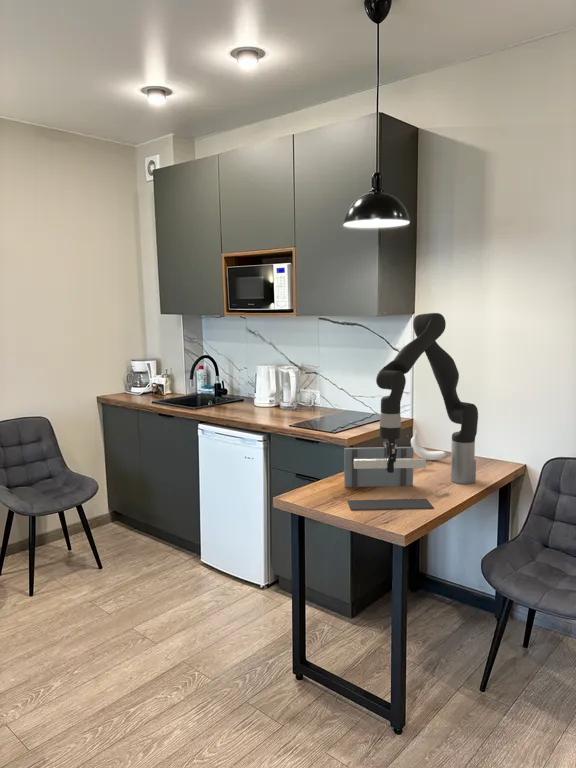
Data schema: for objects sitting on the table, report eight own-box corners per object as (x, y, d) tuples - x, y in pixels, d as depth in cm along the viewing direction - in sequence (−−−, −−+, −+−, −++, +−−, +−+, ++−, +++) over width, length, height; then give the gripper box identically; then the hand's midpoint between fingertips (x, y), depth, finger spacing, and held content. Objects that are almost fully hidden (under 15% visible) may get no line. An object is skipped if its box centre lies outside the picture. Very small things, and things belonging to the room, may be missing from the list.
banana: (444, 464, 267) (445, 433, 265) (408, 458, 279) (408, 428, 277) (449, 462, 270) (450, 431, 269) (413, 456, 283) (413, 426, 281)
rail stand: (412, 484, 236) (412, 446, 234) (419, 494, 223) (420, 454, 221) (344, 486, 235) (344, 448, 233) (348, 495, 223) (348, 455, 221)
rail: (424, 466, 211) (424, 458, 211) (425, 467, 209) (425, 459, 209) (353, 466, 211) (353, 459, 211) (354, 468, 209) (354, 460, 208)
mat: (426, 499, 217) (426, 498, 217) (433, 508, 207) (433, 507, 207) (347, 501, 216) (347, 500, 216) (350, 510, 207) (350, 509, 206)
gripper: (404, 428, 201) (404, 476, 203) (396, 421, 215) (396, 466, 217) (383, 428, 201) (382, 476, 203) (376, 421, 215) (376, 466, 217)
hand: (389, 471), depth 210 cm, fingers closed on rail, 2 cm apart
